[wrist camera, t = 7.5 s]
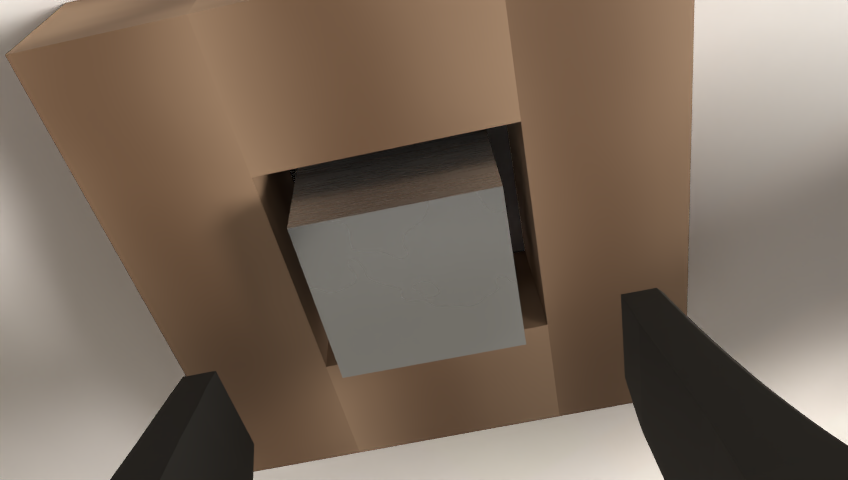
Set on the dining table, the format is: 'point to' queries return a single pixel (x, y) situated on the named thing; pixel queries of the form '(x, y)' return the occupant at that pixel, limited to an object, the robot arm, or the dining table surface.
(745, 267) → the dining table surface
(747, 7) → the dining table surface
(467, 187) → the peg
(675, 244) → the holder
